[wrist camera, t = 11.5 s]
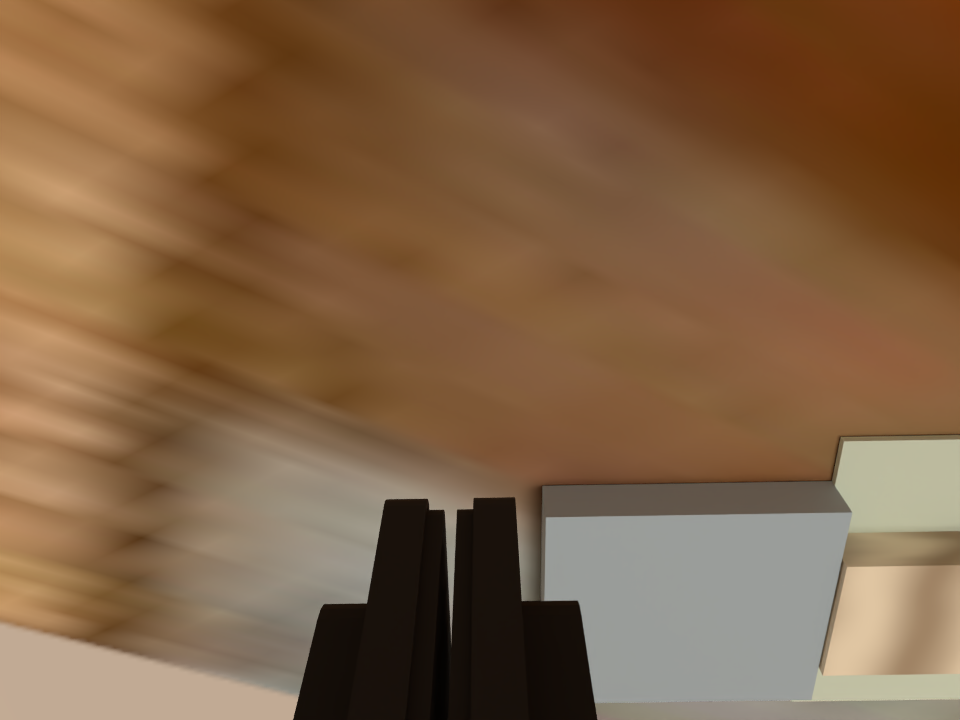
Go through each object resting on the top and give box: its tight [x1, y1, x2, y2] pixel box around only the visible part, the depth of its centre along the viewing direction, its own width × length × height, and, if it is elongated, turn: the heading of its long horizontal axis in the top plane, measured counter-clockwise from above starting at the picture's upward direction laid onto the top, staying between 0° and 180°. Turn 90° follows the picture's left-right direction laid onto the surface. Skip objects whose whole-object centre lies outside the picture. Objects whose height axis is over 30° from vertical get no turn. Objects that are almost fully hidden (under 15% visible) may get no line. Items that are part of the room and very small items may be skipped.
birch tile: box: [819, 531, 960, 676], centre depth 42 cm, size 10×7×2 cm
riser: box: [541, 481, 852, 703], centre depth 42 cm, size 14×12×2 cm
